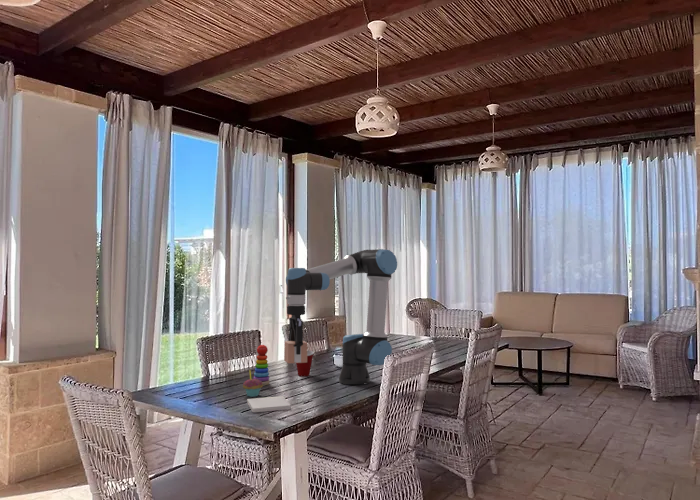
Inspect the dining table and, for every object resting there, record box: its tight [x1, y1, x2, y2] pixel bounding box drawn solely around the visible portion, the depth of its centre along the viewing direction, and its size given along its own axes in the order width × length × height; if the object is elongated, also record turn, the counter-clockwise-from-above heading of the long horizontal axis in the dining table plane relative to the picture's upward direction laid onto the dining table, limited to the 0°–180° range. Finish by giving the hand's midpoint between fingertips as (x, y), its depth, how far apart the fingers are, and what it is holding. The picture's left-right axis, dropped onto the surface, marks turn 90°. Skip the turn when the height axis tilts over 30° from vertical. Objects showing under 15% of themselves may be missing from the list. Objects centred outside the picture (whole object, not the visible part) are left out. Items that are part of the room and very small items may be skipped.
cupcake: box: [242, 368, 264, 398], centre depth 229 cm, size 9×8×12 cm
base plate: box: [246, 395, 292, 413], centre depth 212 cm, size 15×15×2 cm
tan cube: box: [283, 340, 308, 364], centre depth 216 cm, size 8×7×8 cm
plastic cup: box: [295, 349, 315, 377], centre depth 269 cm, size 11×11×12 cm
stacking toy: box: [252, 344, 270, 387], centre depth 249 cm, size 8×8×19 cm
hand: (295, 360), depth 216 cm, fingers closed on tan cube, 7 cm apart
